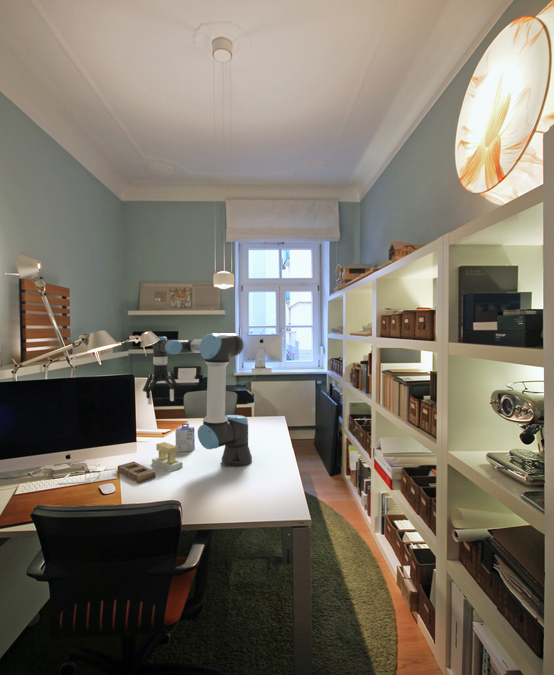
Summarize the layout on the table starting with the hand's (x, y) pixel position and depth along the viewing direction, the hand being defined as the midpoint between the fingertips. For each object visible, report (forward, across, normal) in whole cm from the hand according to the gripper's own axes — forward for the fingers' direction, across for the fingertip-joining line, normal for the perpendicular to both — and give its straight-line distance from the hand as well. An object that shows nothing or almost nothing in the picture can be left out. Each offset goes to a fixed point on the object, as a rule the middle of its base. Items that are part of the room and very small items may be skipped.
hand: (161, 402), depth 206 cm
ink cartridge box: (+27, -9, +10) cm, 30 cm away
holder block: (+27, +11, +24) cm, 38 cm away
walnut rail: (+27, +27, +24) cm, 45 cm away
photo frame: (+27, +43, +6) cm, 52 cm away
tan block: (+27, +11, +24) cm, 38 cm away
